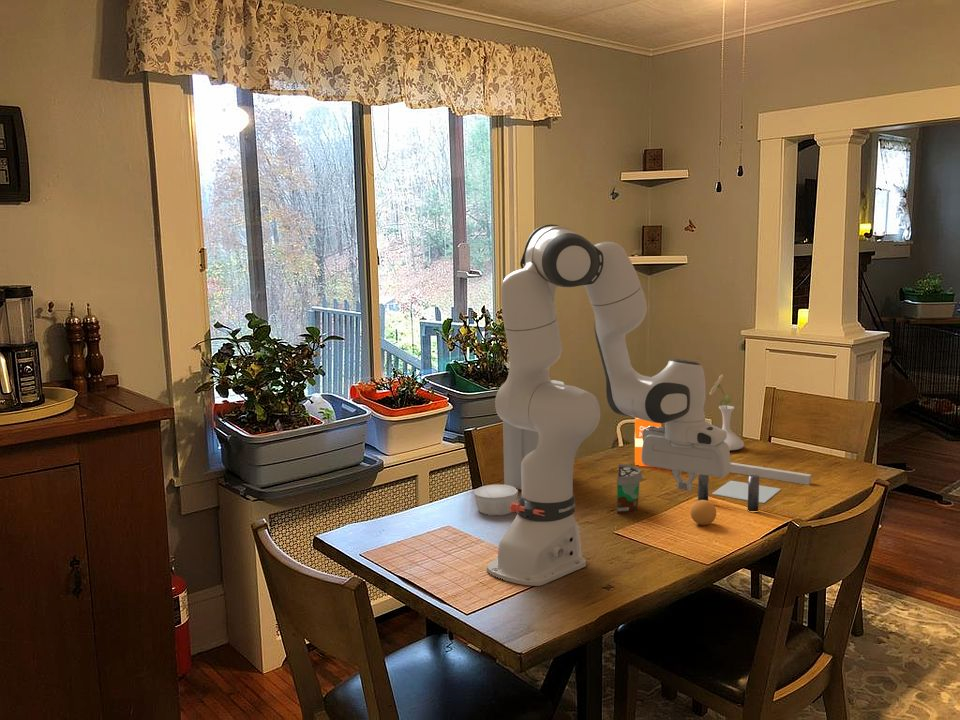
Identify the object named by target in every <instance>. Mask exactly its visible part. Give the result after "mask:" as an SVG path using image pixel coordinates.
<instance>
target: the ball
mask: <svg viewBox="0 0 960 720" xmlns="http://www.w3.org/2000/svg"><path fill="white" fill-rule="evenodd" d="M714 505H715V504H713V503H712V501H711V502H710V501H709V500H708V501H707V500H699V501H698V500H696V501H695V502H694V503H693V504H692V505H691V508H690V516H691V519H692V520H693V521H694V522H695V523H696V524H698V525H701V526H708V525H711V524H712V523H713V522H714V521H715V519H716V517H717V510H716V507H715V506H714Z"/></svg>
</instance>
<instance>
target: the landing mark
mask: <svg viewBox="0 0 960 720" xmlns="http://www.w3.org/2000/svg"><path fill="white" fill-rule="evenodd" d="M781 490H782V489H781V488H778V487H772V486H767V485H761V484H759V504H765V503H767V502H768V501H769V500H770V499H772V497H774V496H775V495H776V494H778V493H779V492H780V491H781ZM711 495H715V496H719V497H727V498H732V499H736V500H743V501H746V502H748V482H743V481H737V480H729V481H727V482H726V483H725V484H723V485H722V486H720V487H718V489H716V490H715V491H713V492H712V493H711Z"/></svg>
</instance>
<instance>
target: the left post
mask: <svg viewBox="0 0 960 720" xmlns="http://www.w3.org/2000/svg"><path fill="white" fill-rule="evenodd" d="M697 476H698V479H697V483H698V485H697V501H699V500H707V501H709V483H710V482H709V481H710V479H709V478H710V476H708V475H702V474H697Z"/></svg>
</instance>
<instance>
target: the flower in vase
mask: <svg viewBox="0 0 960 720" xmlns="http://www.w3.org/2000/svg"><path fill="white" fill-rule="evenodd" d="M723 379H724V374H723V373H722V374H721V375H719V376H718V380H717V381H715V382H714V385H713V387H711V388H710V392H709V393H708V394H709V396H711V395H713V394H714V393H715V392H716V390H717V389H718V388H719V390H720V391H721V393H722V395H723V398H722V399H721V400H720V401H719V403H718V409H719V410H720V412H721V416H722V428H721V429H723V430H725V431H726V433H727V438H726V439H725V440H724V442H725V443H726V444H727V445H728V447H729V451H737V450H740V449H743V448H744V446H745V442H744V441H743V440H742V439H741V438H740V437H739V436H738V435H737V434H735V432H734V431H732V429H731V416H732V412H733V411H734V410H735V408H736V407H735V406H732V405H728V404H730V403H731V402H732V399H731V398H730V395H729V394H726V395H725V392H724V390H723V389H722V386H721V382H722V381H723ZM723 404H725V405H723Z"/></svg>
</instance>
